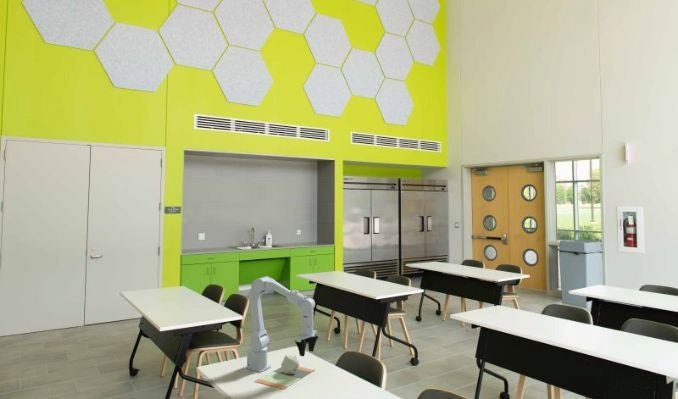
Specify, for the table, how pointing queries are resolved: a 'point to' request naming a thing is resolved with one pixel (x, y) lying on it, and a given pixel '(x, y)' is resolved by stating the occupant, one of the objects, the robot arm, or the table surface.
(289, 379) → the mat
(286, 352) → the table surface
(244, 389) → the table surface
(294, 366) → the die
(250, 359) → the robot arm
